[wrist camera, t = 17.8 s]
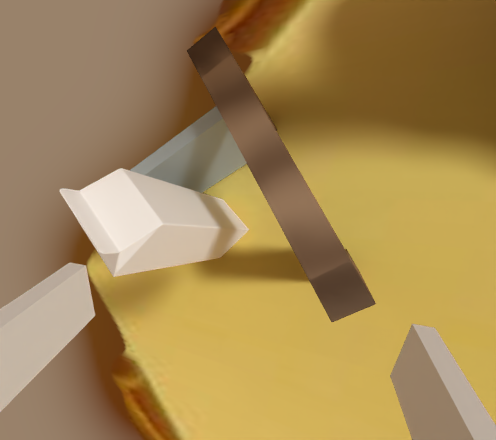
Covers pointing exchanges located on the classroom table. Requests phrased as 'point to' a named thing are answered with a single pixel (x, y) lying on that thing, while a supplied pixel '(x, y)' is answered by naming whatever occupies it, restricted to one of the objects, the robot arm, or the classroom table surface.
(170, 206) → the milk
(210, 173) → the door
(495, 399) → the classroom table surface
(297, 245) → the door frame
